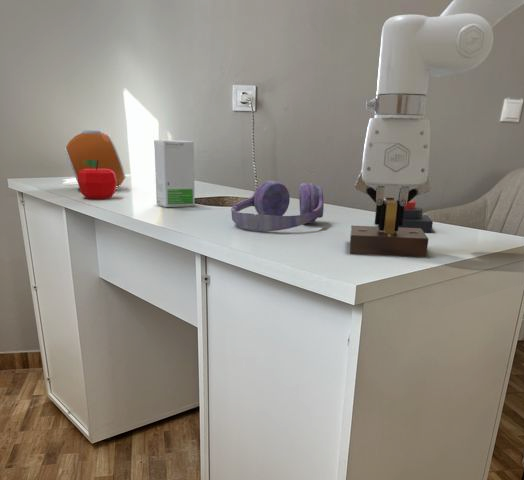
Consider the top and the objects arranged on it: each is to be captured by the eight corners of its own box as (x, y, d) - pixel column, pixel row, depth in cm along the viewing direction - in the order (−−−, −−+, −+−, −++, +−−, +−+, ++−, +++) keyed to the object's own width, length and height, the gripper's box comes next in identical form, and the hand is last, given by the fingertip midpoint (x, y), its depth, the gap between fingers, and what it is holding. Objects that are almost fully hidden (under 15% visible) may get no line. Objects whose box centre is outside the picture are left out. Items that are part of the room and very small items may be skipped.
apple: (113, 195, 160) (110, 158, 157) (123, 199, 152) (120, 160, 148) (75, 196, 156) (71, 158, 152) (83, 200, 147) (79, 160, 143)
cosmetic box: (165, 208, 137) (162, 140, 131) (155, 204, 142) (151, 139, 136) (196, 206, 141) (194, 140, 135) (185, 203, 146) (183, 140, 140)
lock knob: (394, 234, 90) (397, 200, 88) (384, 233, 90) (387, 200, 88) (391, 228, 95) (394, 197, 93) (381, 228, 95) (384, 196, 93)
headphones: (261, 211, 128) (216, 238, 113) (259, 175, 124) (212, 198, 108) (336, 218, 120) (299, 248, 105) (337, 180, 116) (298, 205, 101)
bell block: (425, 225, 118) (428, 206, 117) (431, 232, 110) (434, 212, 109) (378, 223, 120) (379, 204, 118) (380, 230, 111) (382, 210, 110)
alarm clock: (129, 191, 169) (125, 130, 163) (68, 192, 164) (62, 129, 158) (123, 185, 186) (119, 130, 180) (68, 186, 181) (62, 129, 175)
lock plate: (419, 245, 97) (421, 227, 96) (426, 257, 88) (428, 237, 87) (349, 242, 99) (351, 224, 98) (349, 253, 90) (351, 234, 88)
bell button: (413, 209, 115) (414, 200, 114) (415, 211, 112) (416, 202, 111) (396, 208, 115) (396, 200, 115) (397, 210, 112) (398, 202, 111)
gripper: (348, 107, 83) (340, 231, 90) (457, 108, 81) (440, 235, 88) (347, 109, 90) (340, 224, 97) (447, 110, 88) (432, 227, 95)
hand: (387, 228), depth 92 cm, fingers closed on lock knob
